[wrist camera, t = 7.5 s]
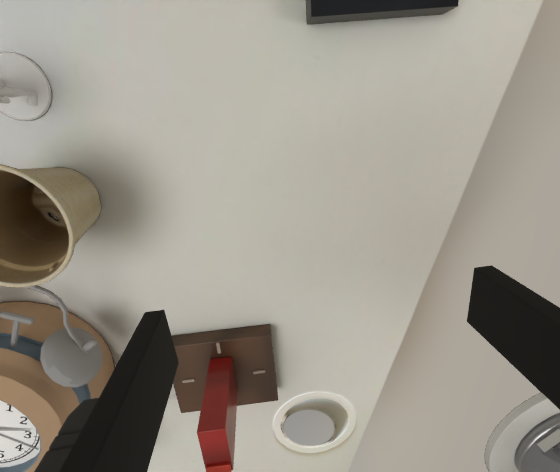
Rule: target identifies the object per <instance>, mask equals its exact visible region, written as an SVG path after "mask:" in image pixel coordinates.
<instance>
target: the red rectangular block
mask: <svg viewBox="0 0 560 472" xmlns="http://www.w3.org/2000/svg"><path fill="white" fill-rule="evenodd" d="M236 409H237V387H236V381H235V374H234V368H233V362H232V357H224V358H215V359H210V362H209V367H208V373H207V379H206V384H205V390H204V396H203V401H202V407H201V413H200V418H199V424H198V430H197V434H198V439H199V443H200V447H201V451H202V455H203V460H204V464H205V468H206V472H231V470H233V464H234V446H235V427H236Z"/></svg>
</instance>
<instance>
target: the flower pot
mask: <svg viewBox="0 0 560 472" xmlns="http://www.w3.org/2000/svg"><path fill="white" fill-rule="evenodd" d="M100 211H101V204H100V200H99V195H98V191H97V189H96V188H95V186H94V185H93V184H92V183H91V181H90V180H89V179H87V178H86V177H85V176H83V175H82V174H80V173H78V172H76V171H74V170H71V169H68V168H60V167H54V168H39V169H17V168H13V167H9V166H6V165H1V164H0V286H6V287H21V288H22V287H30V286H36V285H40V284H43V283H45V282H48V281H49V280H51V279H53V278H54V277H56V276H57V275H58V274H59V273H61V272H62V271H63V270H64V269H65V267H66V266H67V265H68V263H69V261H70V260H71V257H72V255H73V252H74V247H75V244H76V243H77V242H78V241H79V239H80V238H81V237H82V236H83V235H84V233H85V232H86V231H87V230H88V229H89V228H90V227H91V225H92V224H94V223H95V221H96V220H97V218H98V217H99V214H100ZM48 213H51V214H53V215H56V217H57V218H58V219H59V220H58V221H57V220H55V219H53V218H52V217H51V216H50V215H49V214H48Z"/></svg>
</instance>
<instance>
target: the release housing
mask: <svg viewBox="0 0 560 472" xmlns="http://www.w3.org/2000/svg"><path fill="white" fill-rule="evenodd" d="M457 6H458V0H306V16H307V24H320V23H334V22H347V21H360V20H374V19H387V18H400V17H414V16H427V15H440V14H444V13H446V12H448V11H450V10H451V9H453V8H455V7H457Z"/></svg>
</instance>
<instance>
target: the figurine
mask: <svg viewBox="0 0 560 472" xmlns="http://www.w3.org/2000/svg"><path fill="white" fill-rule="evenodd" d="M50 104H51V88H50V84H49V82H48V79H47V78H46V76H45V74H44V73H43V71H42V70H41V69H40V68H39V67H38V66H37V65H36V64H35V63H34V62H33V61H31V60H30V59H28V58H27V57H25V56H22V55H20V54H16V53H12V52H1V53H0V111H1V112H2V113H3V114H5V115H7V116H9V117H11V118H14V119H17V120H25V121H29V120H35V119H37V118H39V117H41V116H43V115H44V114H45V113H46V112H47V110H48V108H49V106H50Z"/></svg>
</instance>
